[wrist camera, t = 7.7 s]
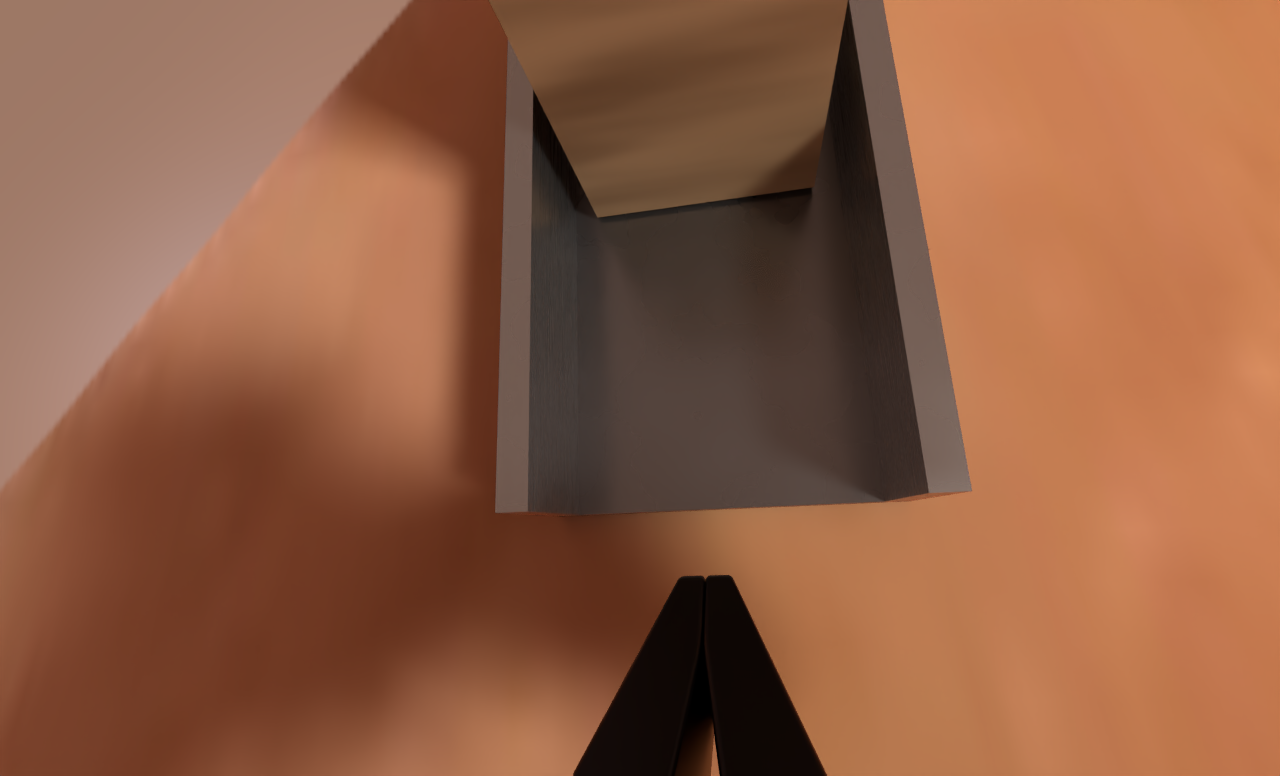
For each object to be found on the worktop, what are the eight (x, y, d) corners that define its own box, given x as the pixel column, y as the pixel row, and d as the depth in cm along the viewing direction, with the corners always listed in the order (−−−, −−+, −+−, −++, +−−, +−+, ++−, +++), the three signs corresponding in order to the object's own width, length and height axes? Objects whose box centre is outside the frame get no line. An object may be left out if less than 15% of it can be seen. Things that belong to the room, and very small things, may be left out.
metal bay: (910, 501, 16) (972, 491, 11) (559, 516, 17) (495, 513, 13) (824, -54, 21) (844, -212, 16) (559, 3, 22) (512, -125, 18)
